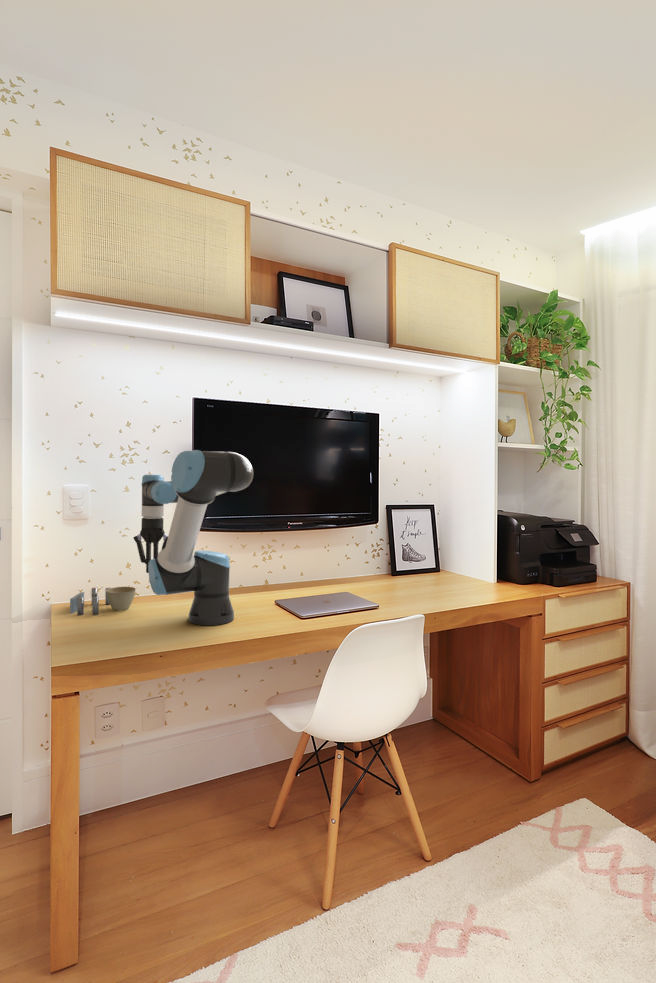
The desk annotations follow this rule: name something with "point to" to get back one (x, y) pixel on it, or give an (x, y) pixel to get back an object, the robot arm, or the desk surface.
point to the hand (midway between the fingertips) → (151, 581)
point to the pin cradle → (78, 603)
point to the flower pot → (120, 597)
